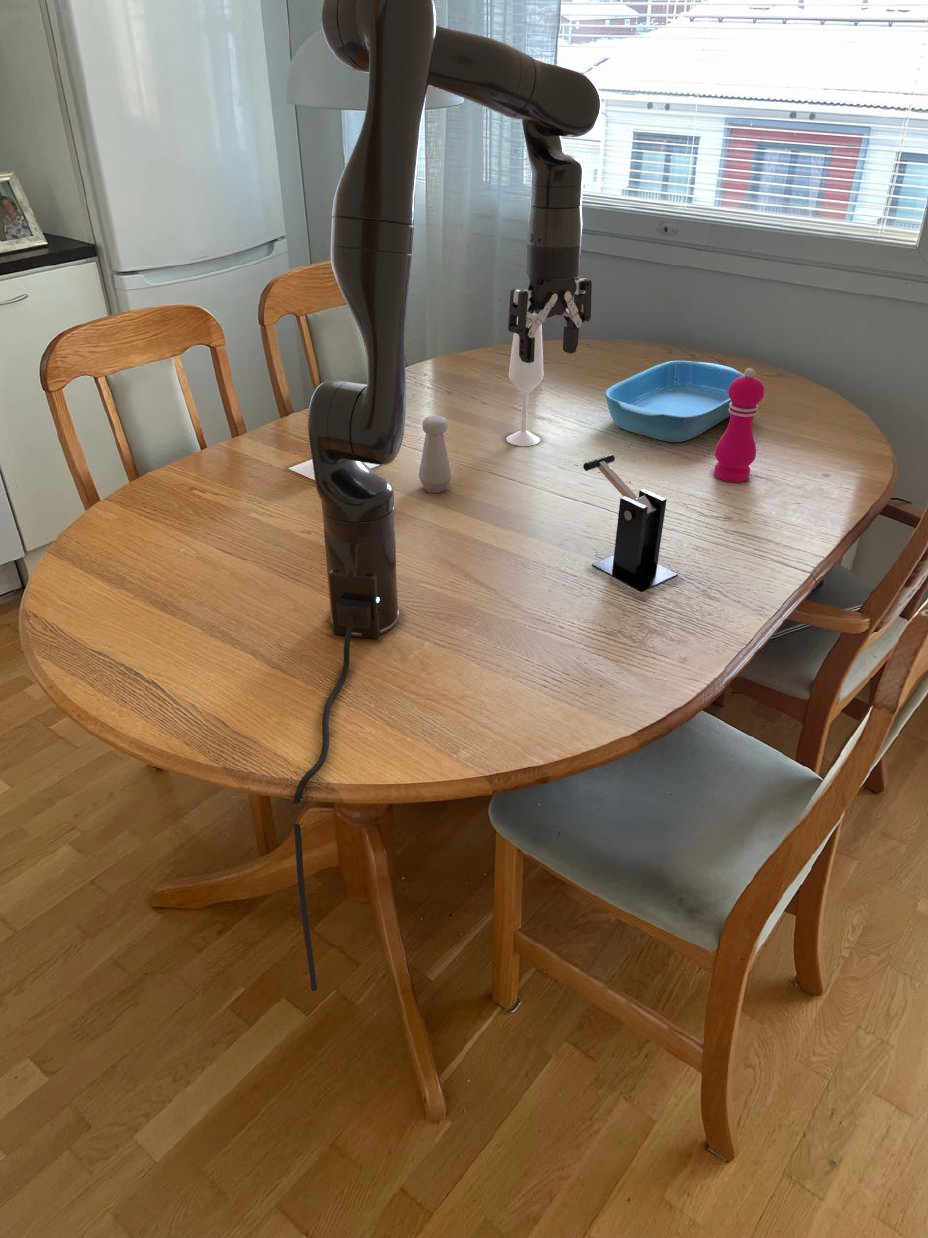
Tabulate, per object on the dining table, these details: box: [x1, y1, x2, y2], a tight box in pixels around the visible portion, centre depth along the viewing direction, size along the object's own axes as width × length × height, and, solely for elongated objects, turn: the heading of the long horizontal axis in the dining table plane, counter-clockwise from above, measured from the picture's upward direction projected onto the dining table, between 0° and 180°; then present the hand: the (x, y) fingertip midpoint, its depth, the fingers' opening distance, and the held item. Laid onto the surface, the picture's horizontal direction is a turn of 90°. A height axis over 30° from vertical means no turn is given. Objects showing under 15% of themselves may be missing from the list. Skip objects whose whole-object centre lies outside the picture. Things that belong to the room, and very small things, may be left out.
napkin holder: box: [287, 459, 379, 481], centre depth 170 cm, size 15×11×6 cm
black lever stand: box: [591, 488, 679, 593], centre depth 135 cm, size 10×8×13 cm
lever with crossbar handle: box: [582, 453, 656, 521], centre depth 134 cm, size 12×6×2 cm, turn 39°
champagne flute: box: [506, 313, 544, 447], centre depth 177 cm, size 7×7×24 cm
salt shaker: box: [418, 415, 453, 494], centre depth 160 cm, size 6×6×13 cm
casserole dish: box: [604, 360, 745, 443], centre depth 192 cm, size 37×22×7 cm, turn 140°
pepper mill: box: [713, 367, 765, 483], centre depth 164 cm, size 7×7×20 cm
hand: (548, 356), depth 137 cm, fingers open, 8 cm apart
